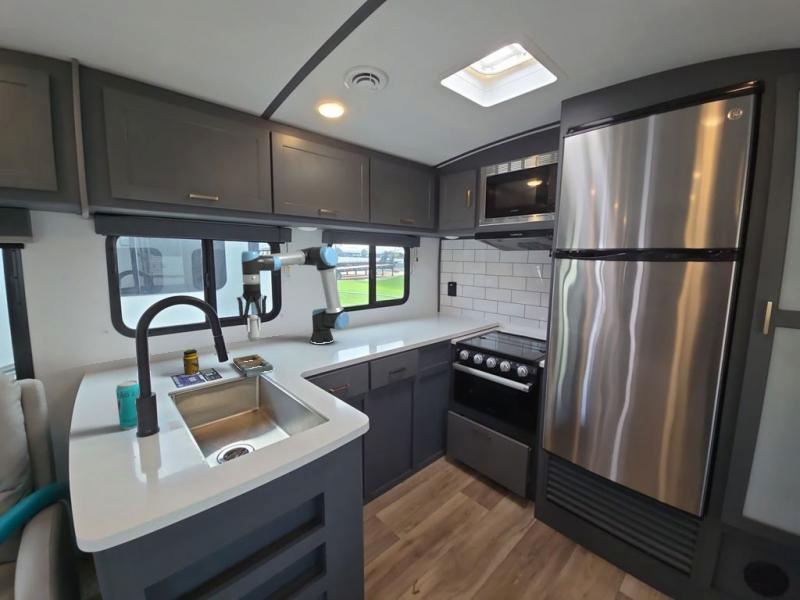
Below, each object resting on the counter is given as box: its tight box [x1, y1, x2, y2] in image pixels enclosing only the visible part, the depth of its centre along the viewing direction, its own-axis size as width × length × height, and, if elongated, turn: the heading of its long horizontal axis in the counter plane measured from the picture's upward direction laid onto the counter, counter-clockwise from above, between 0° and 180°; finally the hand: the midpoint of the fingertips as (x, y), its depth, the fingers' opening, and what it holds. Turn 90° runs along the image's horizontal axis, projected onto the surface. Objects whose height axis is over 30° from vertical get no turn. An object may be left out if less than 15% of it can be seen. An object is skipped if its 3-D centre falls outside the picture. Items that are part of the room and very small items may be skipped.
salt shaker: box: [247, 314, 261, 343], centre depth 156 cm, size 6×6×13 cm
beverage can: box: [115, 380, 140, 430], centre depth 105 cm, size 6×6×15 cm
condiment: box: [182, 349, 200, 375], centre depth 153 cm, size 7×8×12 cm
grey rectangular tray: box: [232, 353, 274, 378], centre depth 164 cm, size 26×12×3 cm, turn 41°
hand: (253, 330), depth 156 cm, fingers closed on salt shaker, 4 cm apart
